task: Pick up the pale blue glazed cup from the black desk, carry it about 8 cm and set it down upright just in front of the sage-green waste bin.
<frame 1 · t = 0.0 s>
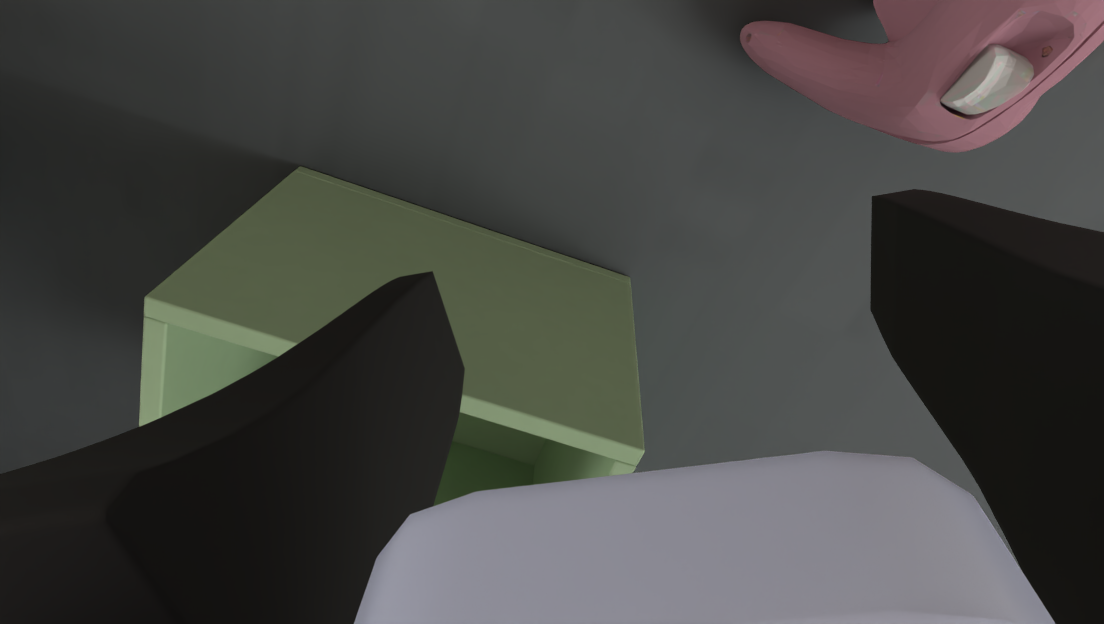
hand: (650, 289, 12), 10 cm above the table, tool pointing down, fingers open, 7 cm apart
bin: (435, 334, 24), on the table
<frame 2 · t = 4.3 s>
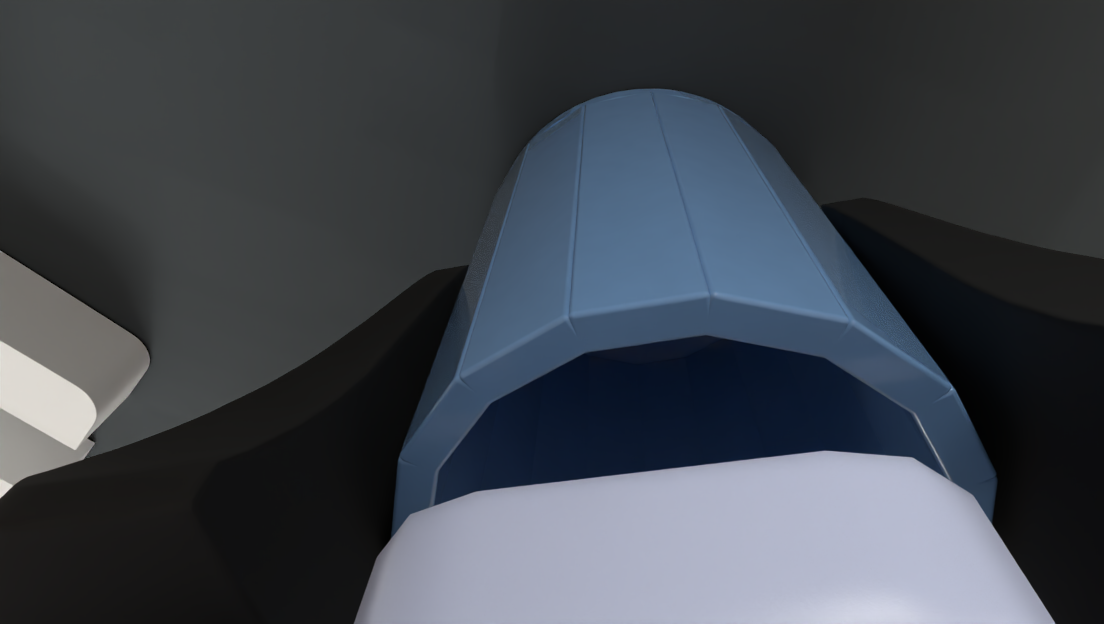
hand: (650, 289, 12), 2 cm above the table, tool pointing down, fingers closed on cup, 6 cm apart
cup: (641, 240, 13), on the table, touching gripper
when the fingers open (2 cm above the table, at t = 9.3 s): cup stays where it is, on the table.
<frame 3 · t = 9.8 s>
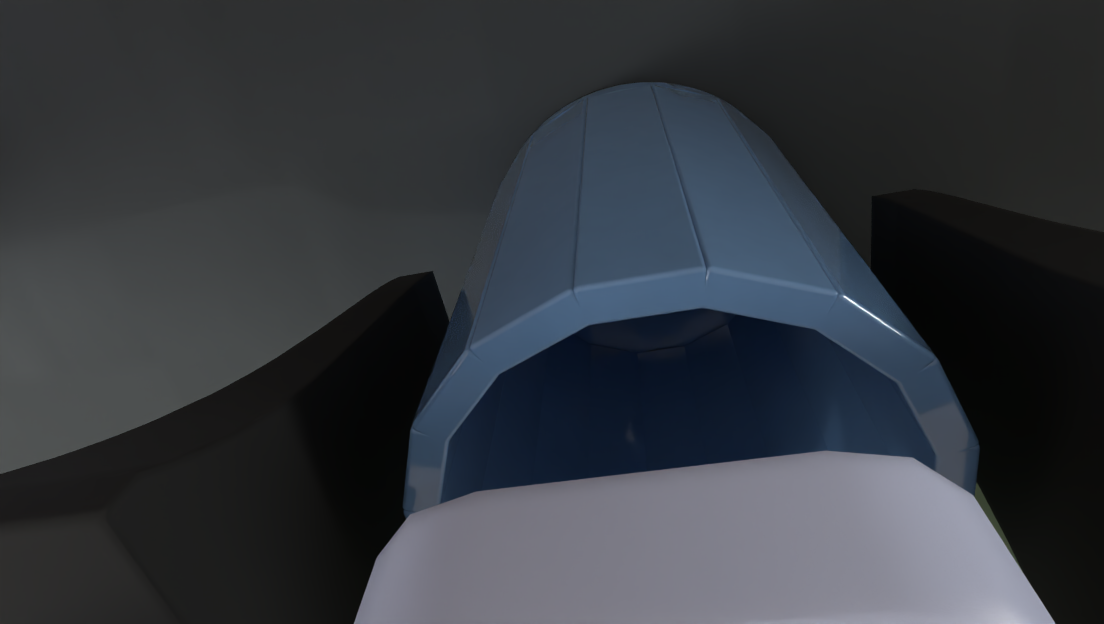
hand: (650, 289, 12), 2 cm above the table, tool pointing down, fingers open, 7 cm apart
cup: (641, 231, 14), on the table
bin: (715, 555, 18), on the table
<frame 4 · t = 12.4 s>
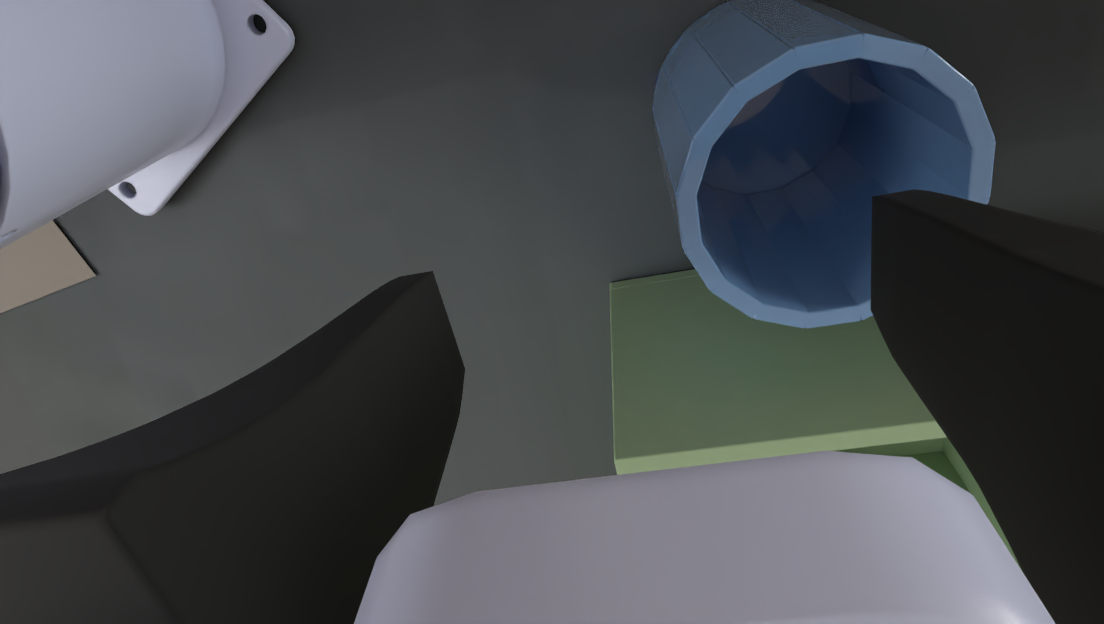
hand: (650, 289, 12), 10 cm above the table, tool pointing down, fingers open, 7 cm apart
cup: (754, 103, 20), on the table
bin: (788, 370, 24), on the table
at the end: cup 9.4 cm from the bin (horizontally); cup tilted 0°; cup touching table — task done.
